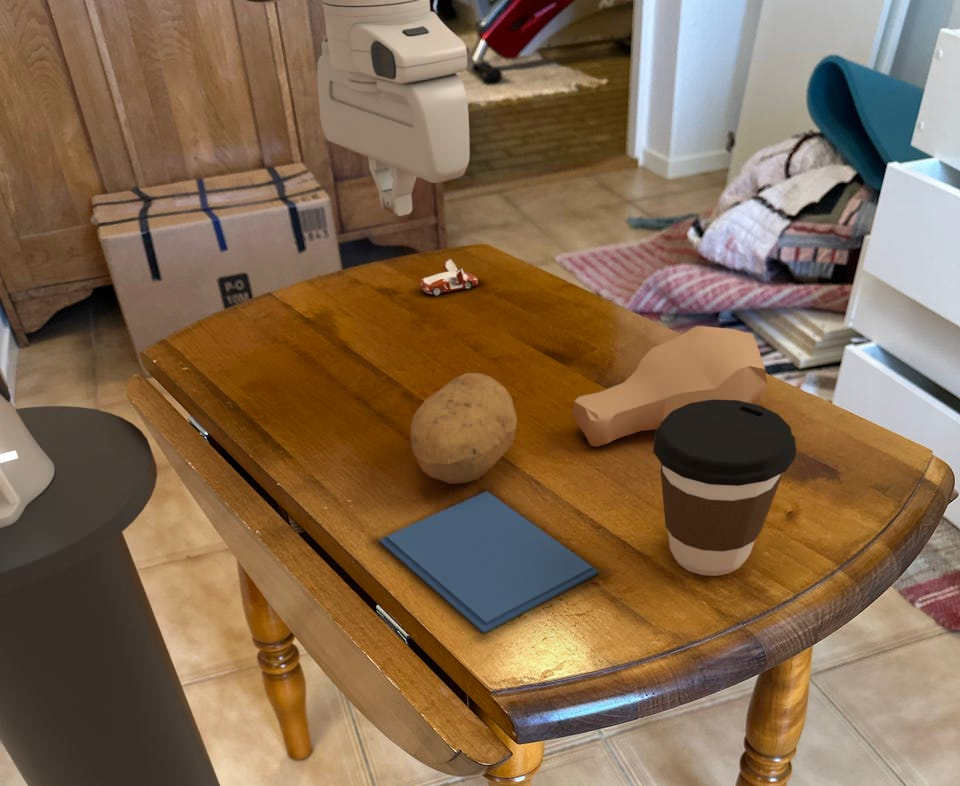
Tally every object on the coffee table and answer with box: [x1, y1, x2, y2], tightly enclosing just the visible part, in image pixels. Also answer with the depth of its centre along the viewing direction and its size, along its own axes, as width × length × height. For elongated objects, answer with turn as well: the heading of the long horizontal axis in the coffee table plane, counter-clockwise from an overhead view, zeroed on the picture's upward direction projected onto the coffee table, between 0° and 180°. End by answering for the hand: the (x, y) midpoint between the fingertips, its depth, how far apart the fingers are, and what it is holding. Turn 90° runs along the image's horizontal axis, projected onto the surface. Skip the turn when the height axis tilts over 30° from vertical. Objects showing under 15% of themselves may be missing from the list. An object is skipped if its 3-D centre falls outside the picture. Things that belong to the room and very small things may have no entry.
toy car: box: [419, 258, 479, 297], centre depth 125 cm, size 5×8×3 cm, turn 109°
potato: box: [410, 372, 518, 485], centre depth 89 cm, size 10×14×8 cm
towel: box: [378, 490, 599, 635], centre depth 81 cm, size 12×16×1 cm
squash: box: [572, 325, 768, 448], centre depth 93 cm, size 11×20×9 cm, turn 109°
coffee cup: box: [652, 399, 797, 577], centre depth 75 cm, size 11×11×12 cm
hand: (396, 211), depth 87 cm, fingers closed
